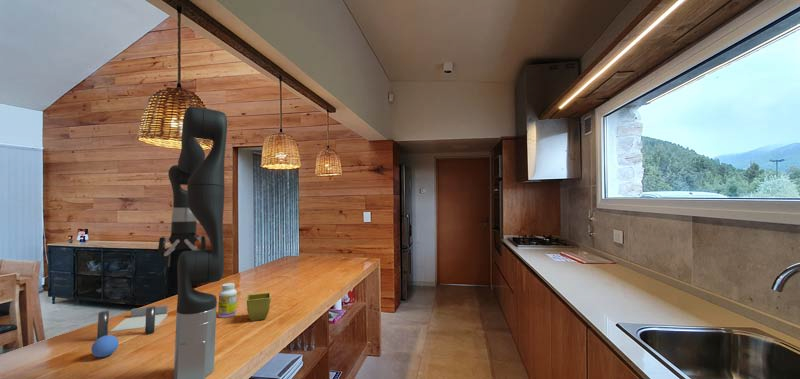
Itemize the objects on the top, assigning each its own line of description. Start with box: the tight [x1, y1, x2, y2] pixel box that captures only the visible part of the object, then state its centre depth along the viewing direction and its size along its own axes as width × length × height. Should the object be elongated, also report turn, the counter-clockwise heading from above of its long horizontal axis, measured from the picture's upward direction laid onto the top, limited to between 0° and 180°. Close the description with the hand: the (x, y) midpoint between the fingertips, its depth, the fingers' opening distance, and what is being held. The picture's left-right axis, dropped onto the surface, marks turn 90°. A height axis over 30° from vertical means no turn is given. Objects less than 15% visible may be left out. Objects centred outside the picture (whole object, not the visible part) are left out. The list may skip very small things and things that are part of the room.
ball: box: [90, 334, 119, 358], centre depth 94 cm, size 6×6×6 cm
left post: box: [96, 310, 110, 340], centre depth 106 cm, size 3×3×9 cm
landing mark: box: [109, 313, 169, 333], centre depth 121 cm, size 14×14×1 cm
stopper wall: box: [130, 305, 169, 318], centre depth 130 cm, size 2×12×3 cm, turn 113°
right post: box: [144, 305, 156, 336], centre depth 111 cm, size 3×3×9 cm
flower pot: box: [246, 292, 272, 322], centre depth 126 cm, size 9×9×9 cm
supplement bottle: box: [217, 282, 238, 318], centre depth 130 cm, size 7×7×13 cm
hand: (182, 265), depth 111 cm, fingers open, 8 cm apart
